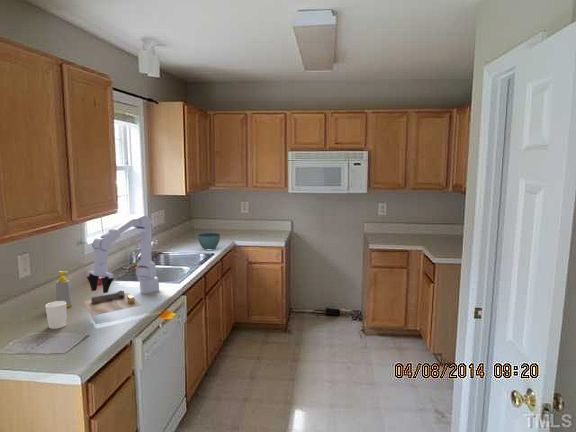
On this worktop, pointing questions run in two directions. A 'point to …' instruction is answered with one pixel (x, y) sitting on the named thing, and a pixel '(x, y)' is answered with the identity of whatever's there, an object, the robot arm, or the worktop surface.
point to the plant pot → (209, 240)
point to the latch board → (110, 305)
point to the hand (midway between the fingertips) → (99, 291)
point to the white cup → (56, 314)
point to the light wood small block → (131, 299)
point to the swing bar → (107, 296)
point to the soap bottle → (63, 290)
